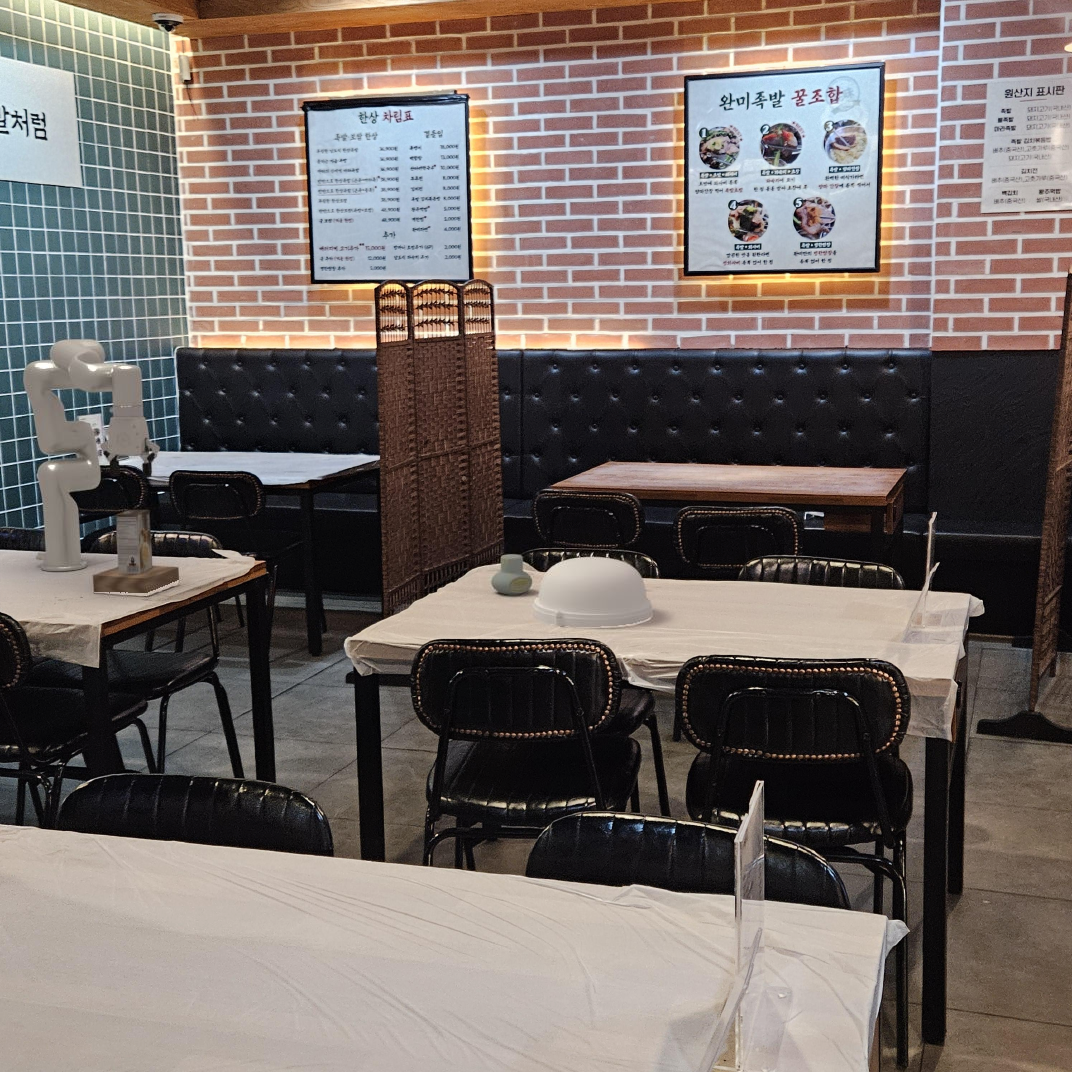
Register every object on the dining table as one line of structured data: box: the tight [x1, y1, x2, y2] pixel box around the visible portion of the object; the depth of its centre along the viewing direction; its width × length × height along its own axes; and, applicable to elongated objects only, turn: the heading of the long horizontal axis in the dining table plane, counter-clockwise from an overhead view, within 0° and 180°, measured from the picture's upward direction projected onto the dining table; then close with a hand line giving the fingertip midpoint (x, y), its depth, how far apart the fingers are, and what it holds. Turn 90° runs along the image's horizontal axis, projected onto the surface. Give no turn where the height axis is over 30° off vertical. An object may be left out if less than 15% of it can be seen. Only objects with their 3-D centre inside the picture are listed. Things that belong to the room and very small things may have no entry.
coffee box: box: [115, 509, 154, 574], centre depth 354 cm, size 9×6×16 cm
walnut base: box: [92, 565, 180, 593], centre depth 356 cm, size 16×16×5 cm
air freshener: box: [490, 553, 533, 596], centre depth 352 cm, size 11×8×10 cm
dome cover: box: [531, 556, 654, 627], centre depth 327 cm, size 32×30×14 cm
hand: (131, 476), depth 351 cm, fingers open, 9 cm apart
